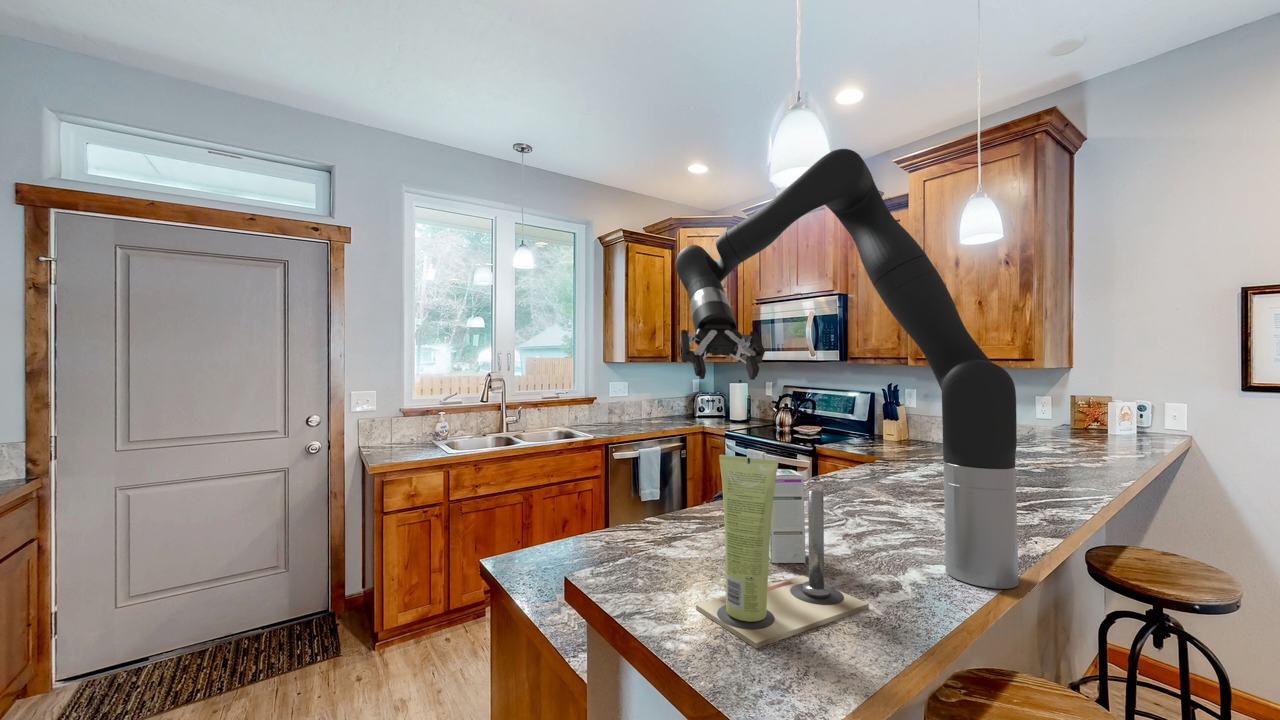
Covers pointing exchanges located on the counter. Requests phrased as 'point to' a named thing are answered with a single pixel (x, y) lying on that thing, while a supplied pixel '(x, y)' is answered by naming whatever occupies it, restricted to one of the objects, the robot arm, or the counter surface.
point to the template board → (784, 612)
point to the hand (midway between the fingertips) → (728, 375)
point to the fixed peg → (816, 547)
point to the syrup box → (788, 519)
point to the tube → (747, 533)
